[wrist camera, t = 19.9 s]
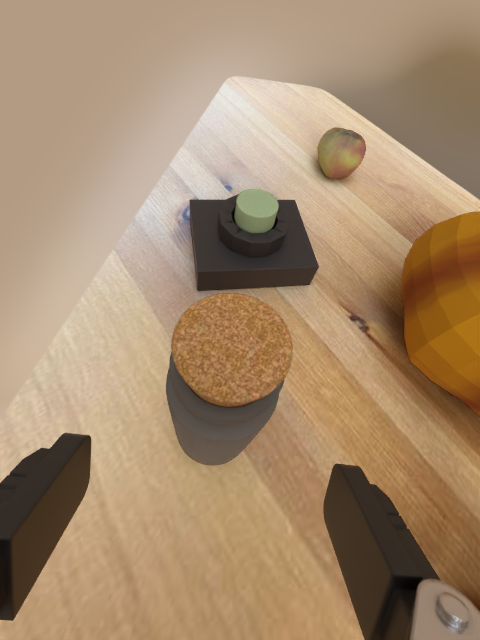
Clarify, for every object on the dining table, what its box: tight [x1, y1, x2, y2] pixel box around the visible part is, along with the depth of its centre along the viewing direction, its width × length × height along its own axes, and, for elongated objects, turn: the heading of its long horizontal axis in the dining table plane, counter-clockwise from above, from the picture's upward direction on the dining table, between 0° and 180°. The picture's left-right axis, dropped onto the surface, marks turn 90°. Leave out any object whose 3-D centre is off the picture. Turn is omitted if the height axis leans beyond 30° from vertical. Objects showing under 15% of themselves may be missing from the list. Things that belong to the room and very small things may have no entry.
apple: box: [318, 128, 366, 179], centre depth 42 cm, size 6×8×6 cm
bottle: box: [166, 293, 292, 465], centre depth 18 cm, size 6×6×15 cm
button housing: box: [190, 194, 319, 291], centre depth 33 cm, size 12×10×5 cm
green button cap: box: [234, 189, 279, 233], centre depth 30 cm, size 4×4×2 cm
